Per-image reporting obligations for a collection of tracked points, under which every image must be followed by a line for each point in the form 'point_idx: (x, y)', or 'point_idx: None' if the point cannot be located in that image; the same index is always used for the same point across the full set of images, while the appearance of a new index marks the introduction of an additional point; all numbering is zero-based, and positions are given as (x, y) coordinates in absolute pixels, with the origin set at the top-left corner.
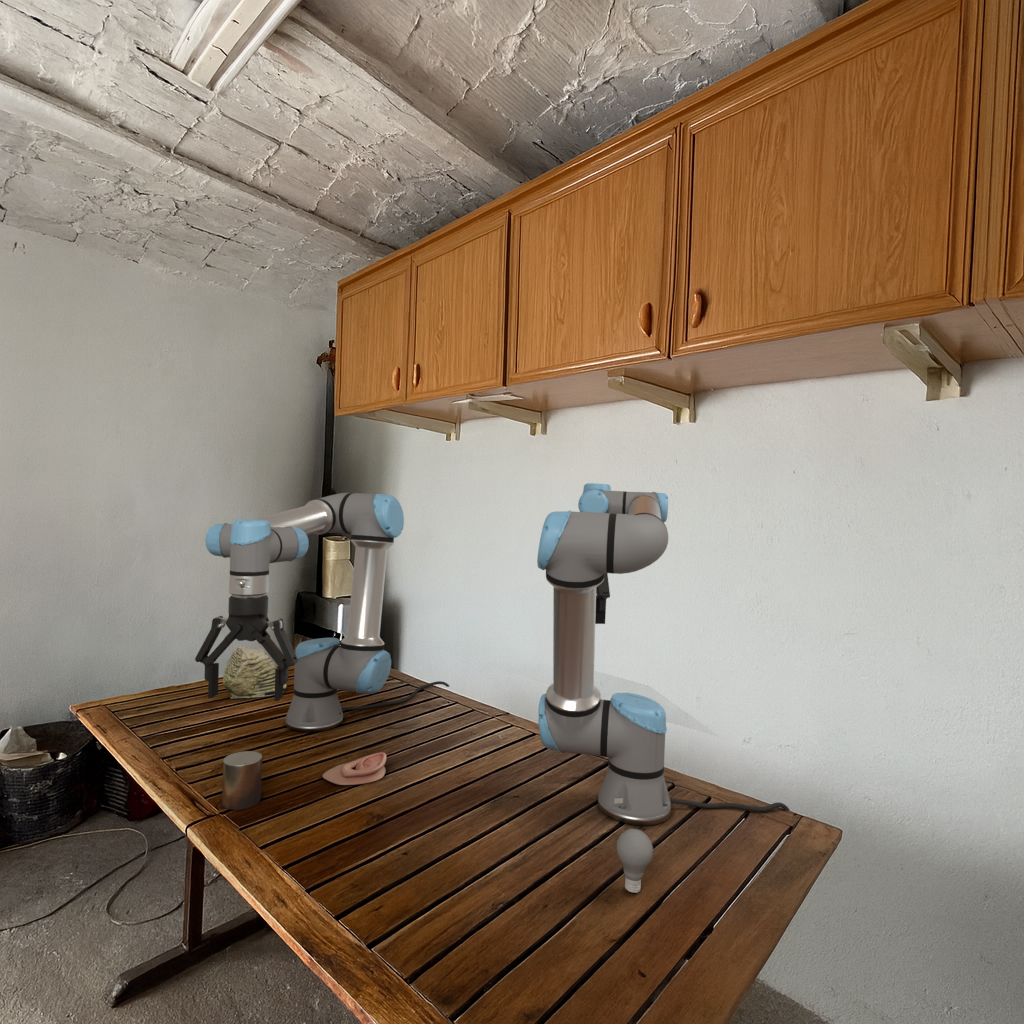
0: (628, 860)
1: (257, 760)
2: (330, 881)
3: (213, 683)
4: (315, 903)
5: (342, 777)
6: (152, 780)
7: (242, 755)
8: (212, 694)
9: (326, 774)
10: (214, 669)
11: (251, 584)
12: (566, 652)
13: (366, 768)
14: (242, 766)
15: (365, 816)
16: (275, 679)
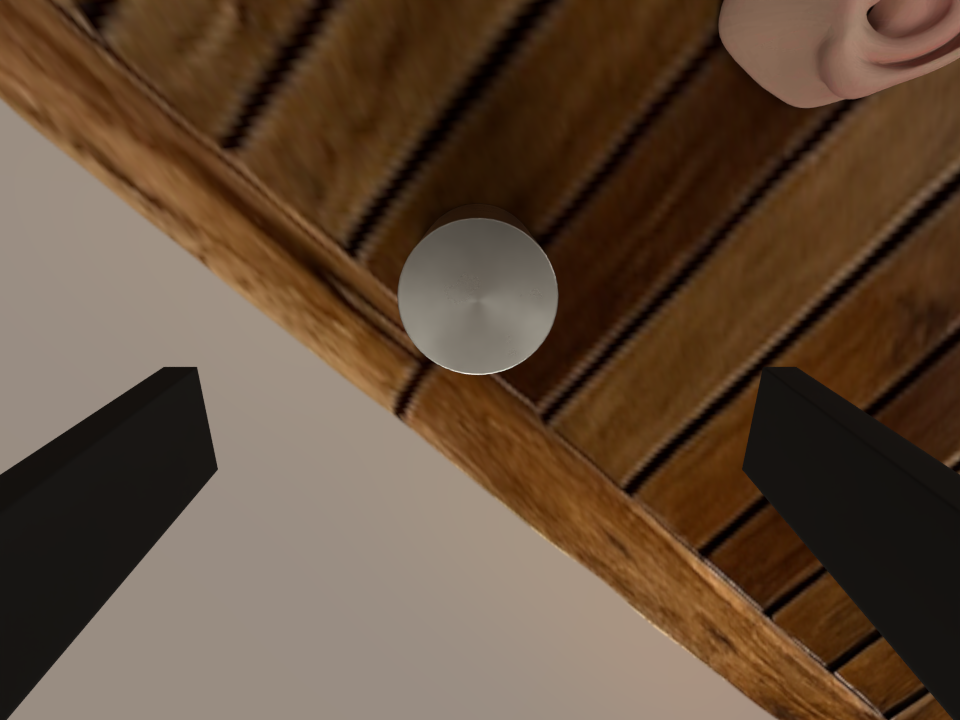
0: None
1: (548, 315)
2: (810, 586)
3: (142, 522)
4: (787, 641)
5: (819, 82)
6: (79, 139)
7: (462, 271)
8: (202, 475)
9: (743, 39)
10: (20, 642)
11: None
12: None
13: (941, 28)
14: (507, 368)
15: (890, 320)
16: (871, 618)
